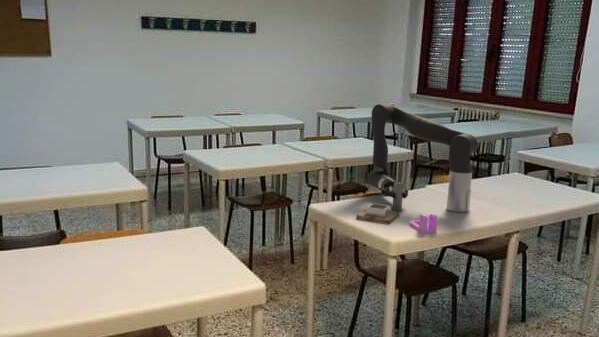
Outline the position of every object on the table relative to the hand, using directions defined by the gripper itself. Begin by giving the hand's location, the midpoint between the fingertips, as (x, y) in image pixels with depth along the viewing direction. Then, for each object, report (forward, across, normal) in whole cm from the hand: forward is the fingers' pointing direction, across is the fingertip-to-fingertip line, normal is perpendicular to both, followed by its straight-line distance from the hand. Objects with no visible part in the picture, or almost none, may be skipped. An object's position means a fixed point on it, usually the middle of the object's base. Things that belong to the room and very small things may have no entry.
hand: (400, 196), depth 229 cm
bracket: (+22, +2, +7) cm, 23 cm away
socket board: (+7, -11, +7) cm, 15 cm away
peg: (-3, 0, +7) cm, 8 cm away
